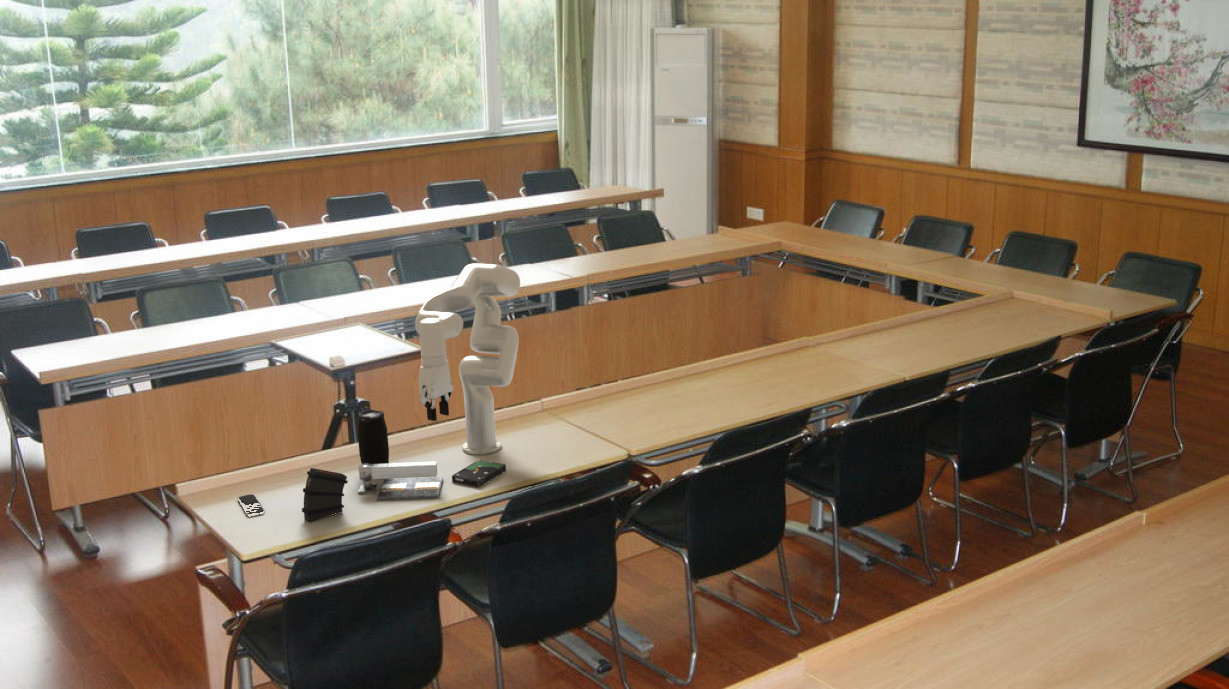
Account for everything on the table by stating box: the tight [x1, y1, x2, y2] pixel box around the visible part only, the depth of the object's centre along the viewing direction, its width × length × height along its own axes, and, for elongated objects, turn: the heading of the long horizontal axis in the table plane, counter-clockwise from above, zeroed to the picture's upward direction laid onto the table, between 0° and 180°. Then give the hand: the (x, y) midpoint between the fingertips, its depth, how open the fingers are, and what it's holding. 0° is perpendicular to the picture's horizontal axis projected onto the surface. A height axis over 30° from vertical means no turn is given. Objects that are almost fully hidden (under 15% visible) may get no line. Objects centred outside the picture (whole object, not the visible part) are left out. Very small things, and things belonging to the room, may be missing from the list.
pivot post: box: [357, 479, 379, 495], centre depth 362 cm, size 5×5×4 cm
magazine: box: [301, 467, 349, 523], centre depth 344 cm, size 4×13×15 cm, turn 130°
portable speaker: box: [357, 408, 390, 465], centre depth 374 cm, size 9×9×20 cm
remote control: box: [238, 493, 265, 514], centre depth 353 cm, size 5×2×15 cm
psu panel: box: [376, 476, 444, 501], centre depth 362 cm, size 14×18×1 cm
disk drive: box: [451, 459, 507, 488], centre depth 371 cm, size 10×3×15 cm
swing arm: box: [358, 461, 438, 481], centre depth 361 cm, size 4×23×4 cm, turn 92°
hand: (438, 416), depth 361 cm, fingers open, 4 cm apart
